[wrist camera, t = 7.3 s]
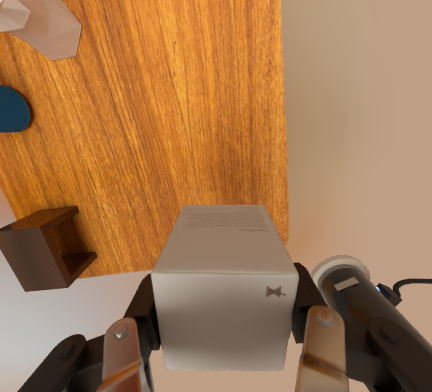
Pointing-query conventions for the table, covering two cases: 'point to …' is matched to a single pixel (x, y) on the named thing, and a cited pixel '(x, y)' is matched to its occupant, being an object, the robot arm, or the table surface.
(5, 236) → the shelf
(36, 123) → the table surface
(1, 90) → the beverage can
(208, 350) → the product box
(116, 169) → the table surface
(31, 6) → the figurine
